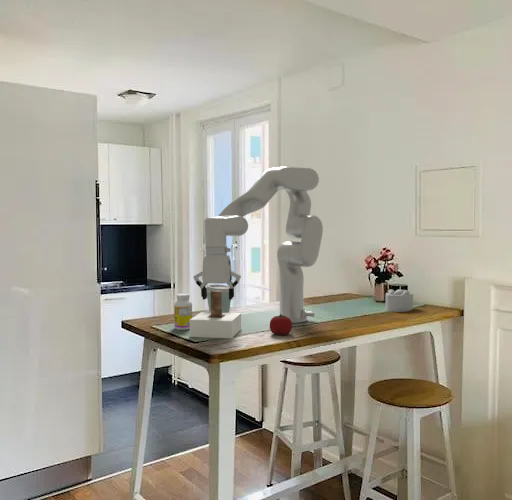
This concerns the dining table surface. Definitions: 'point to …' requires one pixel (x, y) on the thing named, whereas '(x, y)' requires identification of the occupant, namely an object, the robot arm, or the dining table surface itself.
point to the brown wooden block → (216, 304)
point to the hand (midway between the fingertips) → (217, 299)
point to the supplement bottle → (182, 312)
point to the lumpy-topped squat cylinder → (399, 301)
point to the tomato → (280, 325)
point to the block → (215, 325)
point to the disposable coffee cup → (225, 296)
